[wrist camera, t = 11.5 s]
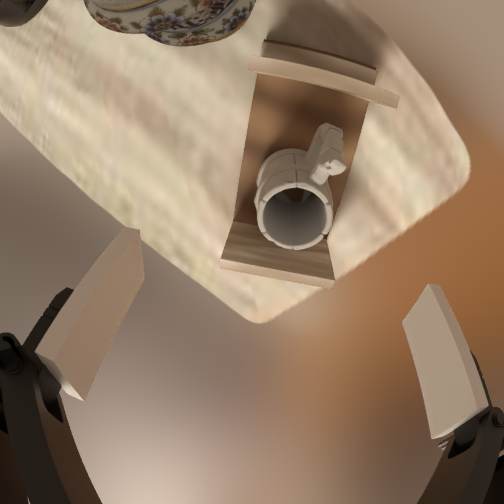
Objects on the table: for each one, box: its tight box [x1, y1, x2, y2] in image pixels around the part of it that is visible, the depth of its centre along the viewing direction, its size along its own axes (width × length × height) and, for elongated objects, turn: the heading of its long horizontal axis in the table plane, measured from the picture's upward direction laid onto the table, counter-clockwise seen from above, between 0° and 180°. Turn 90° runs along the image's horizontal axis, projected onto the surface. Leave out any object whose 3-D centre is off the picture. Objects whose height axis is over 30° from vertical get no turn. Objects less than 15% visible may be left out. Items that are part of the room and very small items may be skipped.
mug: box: [254, 123, 347, 250], centre depth 25 cm, size 8×12×12 cm, turn 155°
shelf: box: [220, 39, 400, 289], centre depth 27 cm, size 26×12×10 cm, turn 171°
